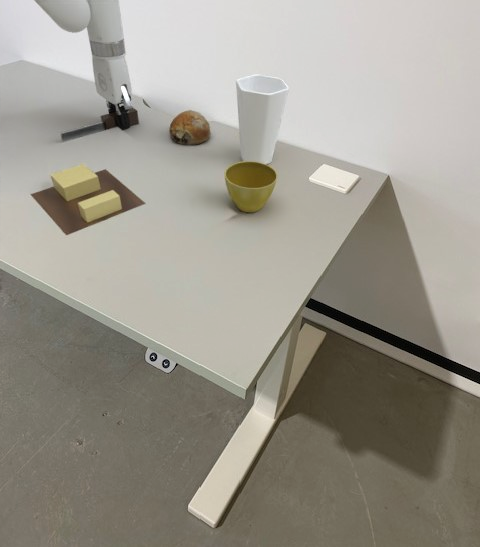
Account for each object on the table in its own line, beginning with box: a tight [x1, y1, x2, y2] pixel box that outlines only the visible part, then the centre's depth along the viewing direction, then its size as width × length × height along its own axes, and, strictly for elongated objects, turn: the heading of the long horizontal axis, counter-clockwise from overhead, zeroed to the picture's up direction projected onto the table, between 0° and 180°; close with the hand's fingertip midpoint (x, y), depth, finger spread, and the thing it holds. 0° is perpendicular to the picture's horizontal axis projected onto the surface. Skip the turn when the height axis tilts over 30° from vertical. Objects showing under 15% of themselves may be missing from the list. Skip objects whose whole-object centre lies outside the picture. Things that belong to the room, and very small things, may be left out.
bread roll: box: [168, 109, 211, 146], centre depth 103 cm, size 10×10×8 cm
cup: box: [235, 73, 290, 165], centre depth 92 cm, size 11×10×17 cm
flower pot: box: [223, 160, 278, 213], centre depth 82 cm, size 10×10×7 cm
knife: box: [59, 106, 140, 143], centre depth 103 cm, size 20×2×4 cm, turn 131°
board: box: [30, 168, 146, 236], centre depth 81 cm, size 16×16×2 cm
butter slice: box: [78, 190, 122, 223], centre depth 77 cm, size 7×2×3 cm, turn 131°
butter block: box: [49, 163, 100, 201], centre depth 82 cm, size 7×6×3 cm
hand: (120, 125), depth 107 cm, fingers closed
